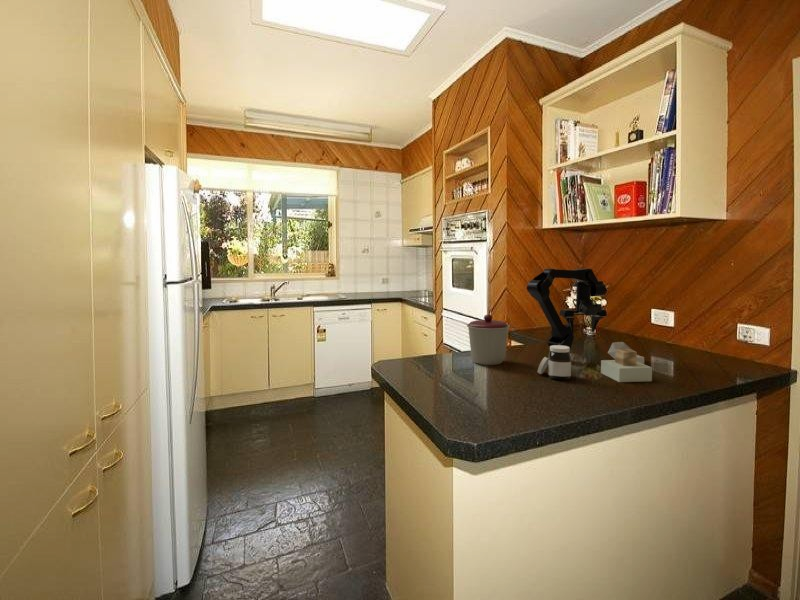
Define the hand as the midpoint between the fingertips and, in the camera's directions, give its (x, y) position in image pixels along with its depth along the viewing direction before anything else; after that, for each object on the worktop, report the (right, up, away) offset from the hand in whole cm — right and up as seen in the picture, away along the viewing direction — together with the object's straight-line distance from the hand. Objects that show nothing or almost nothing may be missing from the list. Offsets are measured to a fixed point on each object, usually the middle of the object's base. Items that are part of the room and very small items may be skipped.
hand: (582, 332), depth 175 cm
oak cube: (+3, -10, -28) cm, 30 cm away
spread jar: (-23, -15, -25) cm, 37 cm away
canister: (-43, -13, -3) cm, 45 cm away
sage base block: (+3, -15, -27) cm, 31 cm away
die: (+15, -12, -2) cm, 20 cm away
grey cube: (+14, -13, -15) cm, 24 cm away
